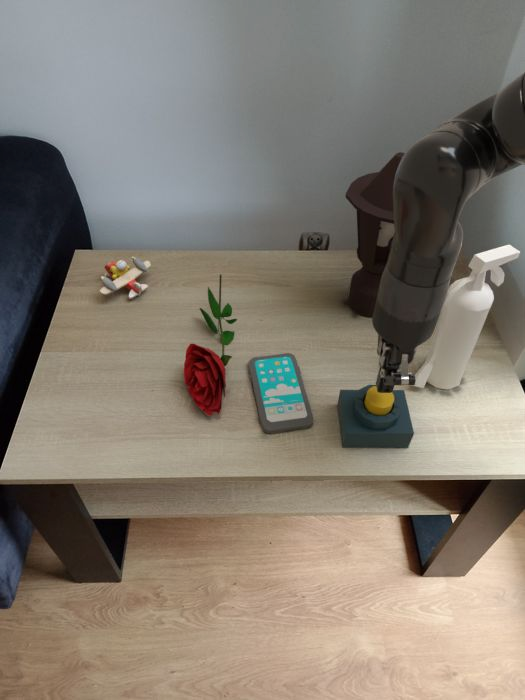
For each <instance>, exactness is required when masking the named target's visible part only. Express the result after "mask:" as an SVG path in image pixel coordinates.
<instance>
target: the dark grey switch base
mask: <svg viewBox="0 0 525 700" xmlns="http://www.w3.org/2000/svg"><path fill="white" fill-rule="evenodd" d="M373 386H376V384H367V385H365V386H363V387H361V388H360V389H340V390H339V394H338V399H337V403H336V407H337V413H338V414H337V415H338V422H339V423H338V424H339V431H340V439H341V447H342V448H347V449H348V448H349V449H350V448H352V449H353V448H367V449H369V448H372V449H373V448H377V449H379V448H380V449H381V448H383V449H384V448H385V449H394V448H395V449H408V448H409V447H410V445H411V442H412V440H413V437H414V435H415V431H414V427H413V423H412V419H411V414H410V410H409V405H408V401H407V397H406V396H407V395H406V393H405V390H404V389H393V391H392V393H393V395H394V402H393V405H392V408H391V411H390V412H389V413H388V414H386V415H383V416H377V415H374V414H371V413H370V412H369V411H368V410H367V409H366V407H365V404H364V401H365V398H366V394H367V391H368V390H369V389H370V388H371V387H373Z"/></svg>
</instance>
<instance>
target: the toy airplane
mask: <svg viewBox="0 0 525 700" xmlns="http://www.w3.org/2000/svg"><path fill="white" fill-rule="evenodd" d="M131 261H132V263H133V265H134V266H135V267H133V268H131V266H130V265H128V264H127V262H126V261H125V260H122V259H121V260H117V261H110V262H107V264H105V265H104V269H105V271H106V272H104V275H102V276H100V279H101V283H100V286H102V285H104V286H103V287H101V288H100V289H99V294H100V295H102V296H108V295H111V294H112V293H114V292H118V290H121V289H123V288H126V289H127V290H129V292H128V299H129V300H133V299H134V298H135V297H139V296H141V294H142V293H143V292H145V291H146V290H147V289H148V287H149V285H148V284H147V283H142V284H141V283H139V282H138V281H137V280H136V279H138V278H139V277H140V276H141V275H143V274H144V273H146V272H148V270H149V269H150V268H151V261H150V260H144V261H142V260H141V259H139V258H138V257H135V256H131ZM107 275H109V276H110V277H107Z"/></svg>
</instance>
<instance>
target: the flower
mask: <svg viewBox="0 0 525 700" xmlns="http://www.w3.org/2000/svg"><path fill="white" fill-rule="evenodd" d="M222 275H223V274H221V273H220V274H219V286H218V289H219V290H218V293H219V294H218V301H217V300H216V297H215V295H214V293H213V292H212V290H211V289H210V288H209V286H207V299H208V304H209V308H210V310H211V314H212V316H213V317H214V319H216V320H217V326H216V325H215V323H214V321H213V319H212V317H211V316H210V315H209V313H208V312H206V311H205V310H204V309H203V308H201V307H199V310H200V312H201V314H202V317H203V319H204V320H205V323H206V325H207V327H208V328H209V329H210V331H212V333H213V334H215V335H217V334H218V336H219V337H220V341H221V347H222V349H221V357H220V356H219V355H218V354H217V353H216V352H214V350H212V349H210V348H209V347H204V346H201V345H198V344H196V343H189V345H188V346H187V348H186V351H185V359H184V360H185V361H184V362H183V363H184V364H183V377H184V384H185V386H186V387H187V392H188V394H189V396H190V397H191V398H192V401H194V404H195V406H196V407H198V408H199V410H201V411H202V412H203V413H204V414H205V415H207V416H208V417H212V415H213V414H214V413H216V414H217V415H220V414H221V411H222V405H223V403H222V402H223V398H226V388H227V383H226V368H225V367H226V366H228V364H229V361H230V360H231V359H232V358H233V356H232V355H228V354H225V346H226V345H230V344H231V343H232V342H233V340H234V337H235V330H233V331H230V330H223V327H222V320H224V321H225V322H226V323H227V324H229V325H232V324H234V323H236V322H237V320H238V318H231V319H225V318H230V317H231V316H232V313H233V307H232V306H231V304H230V303H229V302H226V305H225V306H224V307H223V308H222V279H223V278H222ZM217 327H218V328H217Z"/></svg>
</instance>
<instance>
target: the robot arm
mask: <svg viewBox="0 0 525 700" xmlns="http://www.w3.org/2000/svg"><path fill="white" fill-rule="evenodd" d="M404 153H405V154H404V156H403V157H402V159H401V161H400V164H399V166H398V169H397V172H396V175H395V179H394V185H393V217H394V227H395V233H394V236H393V240H392V244H391V248H390V252H389V257H388V261H387V264H386V267H385V269H384V272H383V274H382V277H381V282H380V286H379V290H378V295H377V299H376V304H375V308H374V312H373V317H371V323H372V327H373V328H374V331H375V332H376V333H377V349H376V353H377V356H379V359H378V362H377V366H378V368H379V369H378V372H377V376H376V380H375V385H376V387H377V392H379V393H391V392H392V391H393V390H395V386H412V385H415V382H416V379H415V374H413V375H412V371H409V365H410V364H412V363H413V361H414V358H415V355H416V352H417V349H418V347H419V346H421V345H423V344H424V343H426V342H427V341H429V340H430V338H431V337H433V335H434V333H435V329H436V326H437V323H438V320H439V316H440V313H441V310H442V307H443V304H444V302H445V299H446V296H447V293H448V290H449V288H450V285H451V284H450V283H451V278H452V275H453V272H454V270H455V267H456V264H457V261H458V258H459V255H460V252H461V250H462V247H463V246H462V245H463V242H464V241H463V240H464V231H463V227H462V225H461V223H460V221H459V218H460V215H461V213H462V211H463V209H464V207H465V205H466V202H467V201H468V200H469V199H470V198H471V197H472V196H474V194H475V193H477V192H478V191H479V190H480V189H482V187H484V186H485V185H486V184H487V183H489V182H491V181H493V180H494V179H496V178H498V177H500V176H501V175H503V174H506V173H508V172H509V171H512V170H514V169H517V168H518V167H520V166H523V165H525V71H524V72H523V73H521V74H520V75H518V76H516V77H515V78H514V79H513V80H512V81H510V82H509V83H508V84H506V85H505V86H504V87H503V88H502V89H501V90H499V91H497V92H496V93H493V94H492V95H490V96H488V97H486V98H484V99H482V100H480V101H479V102H476V103H474V104H473V105H471V106H470V107H468V108H466V109H464V110H463V111H461V112H459V113H458V114H456V115H454V116H452V117H451V118H449V119H448V120H446V121H444V122H443V123H441V124H440V125H438V126H437V127H436V128H434V129H433V130H430V132H428V133H427V134H425V135H424V136H423V137H421V138H419V139H418V140H416V141H415V142H414V143H413V144H411V145H410V146H409V147H408V148H407V150H406V151H405V152H404Z"/></svg>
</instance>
